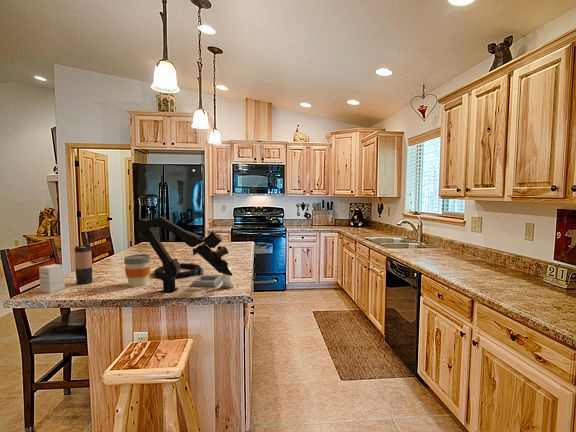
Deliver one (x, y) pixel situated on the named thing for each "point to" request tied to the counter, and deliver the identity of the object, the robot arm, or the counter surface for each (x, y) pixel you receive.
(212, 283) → the holder dock
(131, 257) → the reusable coffee cup
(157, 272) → the cable lock
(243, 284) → the counter surface
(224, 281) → the light bulb lamp
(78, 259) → the travel mug
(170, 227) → the robot arm
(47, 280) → the supplement box
